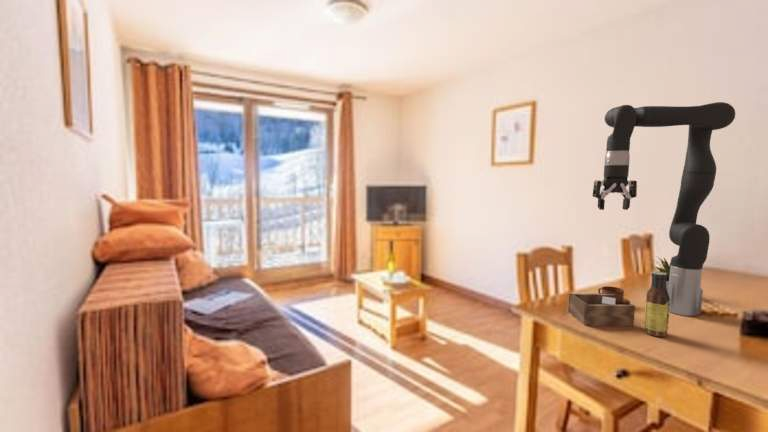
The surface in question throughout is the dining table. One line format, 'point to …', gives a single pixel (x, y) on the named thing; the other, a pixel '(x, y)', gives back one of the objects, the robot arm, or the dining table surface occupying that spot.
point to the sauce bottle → (657, 306)
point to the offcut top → (608, 301)
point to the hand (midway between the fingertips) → (613, 209)
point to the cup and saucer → (617, 292)
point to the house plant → (664, 270)
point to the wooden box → (600, 311)
